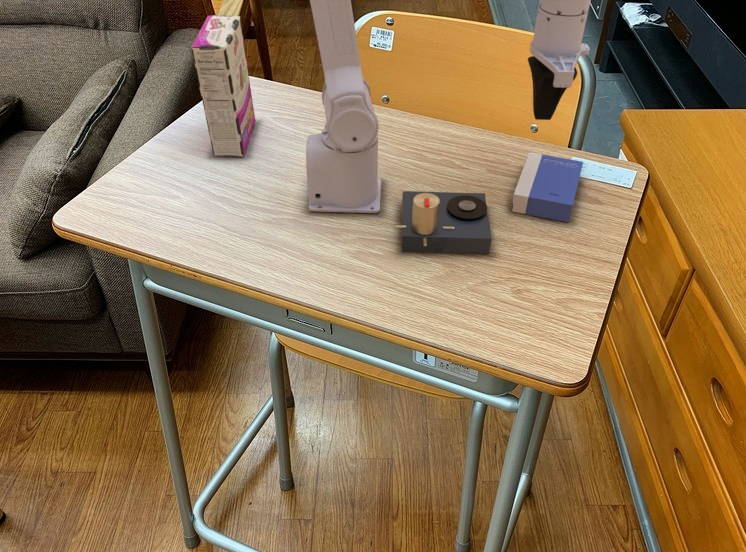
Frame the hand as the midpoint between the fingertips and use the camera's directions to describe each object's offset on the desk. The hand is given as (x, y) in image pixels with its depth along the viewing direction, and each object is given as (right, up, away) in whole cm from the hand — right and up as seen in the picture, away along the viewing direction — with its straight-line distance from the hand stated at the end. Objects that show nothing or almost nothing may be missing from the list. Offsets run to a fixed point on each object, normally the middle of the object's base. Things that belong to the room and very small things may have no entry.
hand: (542, 117), depth 87 cm
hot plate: (-13, -15, -1) cm, 20 cm away
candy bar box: (-44, +2, +16) cm, 47 cm away
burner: (-10, -12, -1) cm, 16 cm away
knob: (-16, -15, -4) cm, 22 cm away
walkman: (0, -12, +1) cm, 12 cm away
